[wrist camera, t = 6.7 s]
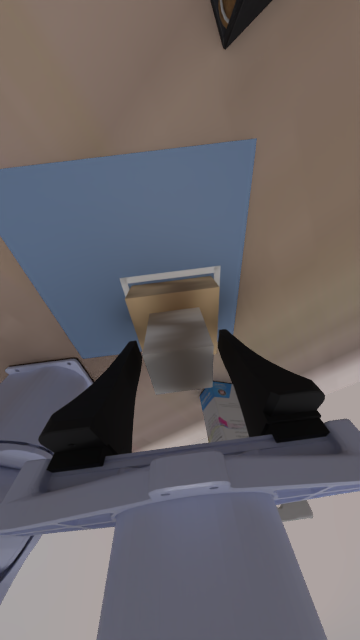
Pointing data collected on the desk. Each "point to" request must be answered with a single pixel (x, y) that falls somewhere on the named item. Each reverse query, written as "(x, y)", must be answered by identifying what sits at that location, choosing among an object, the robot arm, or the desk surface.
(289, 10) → the desk surface
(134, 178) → the board
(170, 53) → the desk surface
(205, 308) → the base slab
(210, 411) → the ink box
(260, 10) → the ammunition clip
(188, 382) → the top block
